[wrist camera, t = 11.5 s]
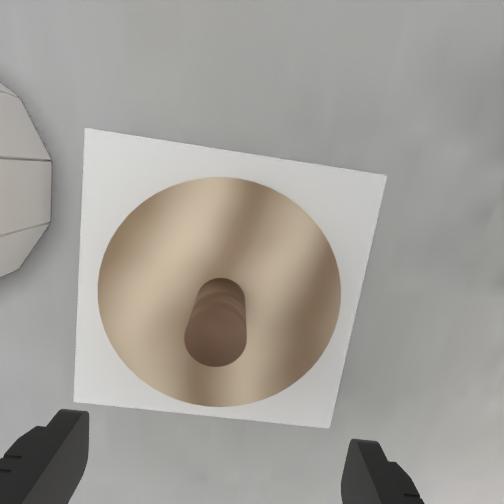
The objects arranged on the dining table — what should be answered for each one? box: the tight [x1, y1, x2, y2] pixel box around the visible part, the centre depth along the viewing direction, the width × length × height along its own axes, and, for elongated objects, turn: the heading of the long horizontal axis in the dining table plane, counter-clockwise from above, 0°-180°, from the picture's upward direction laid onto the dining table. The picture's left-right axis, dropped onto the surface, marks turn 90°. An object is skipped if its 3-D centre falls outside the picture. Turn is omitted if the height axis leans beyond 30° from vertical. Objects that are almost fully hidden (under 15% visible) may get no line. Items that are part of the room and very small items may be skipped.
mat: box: [74, 128, 387, 429], centre depth 23 cm, size 18×18×1 cm
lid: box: [98, 177, 341, 407], centre depth 20 cm, size 15×15×6 cm
